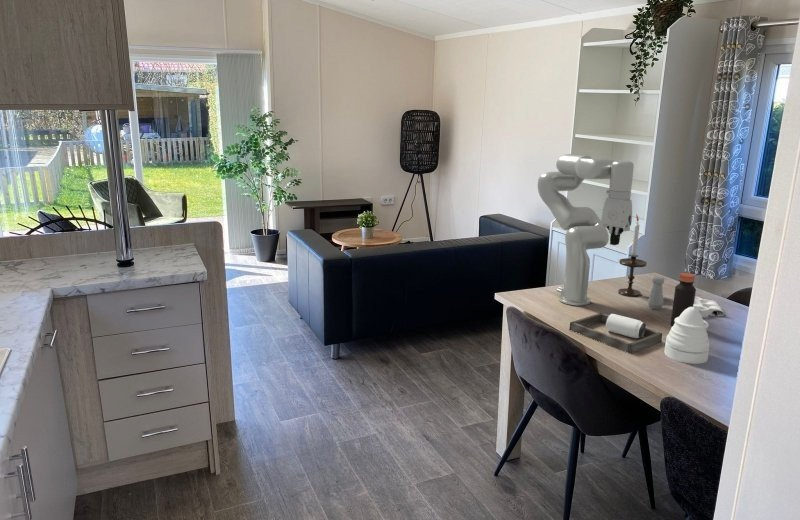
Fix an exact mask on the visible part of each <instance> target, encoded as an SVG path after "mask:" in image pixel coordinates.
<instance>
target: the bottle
mask: <svg viewBox="0 0 800 520" xmlns="http://www.w3.org/2000/svg"><path fill="white" fill-rule="evenodd" d="M695 277H696V275H695V274H694V273H690V272H689V273H688V272H681V273H680V274H679V283H678V284H676V285H675V287H674V294H673V302H672V310H671V316H670V322H669V323H670V327H672V326H673V325H674V324H675V321H674V320H675V318H677V317H679V316H680V315H681V313H682V312H683V311H684V310H685V309H687V308H689V307H693V304H694V300H695V296H696V291H697V289H696V287H695V286H694V283H695V280H696V279H695Z"/></svg>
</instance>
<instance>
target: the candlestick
mask: <svg viewBox="0 0 800 520" xmlns="http://www.w3.org/2000/svg"><path fill="white" fill-rule="evenodd" d="M635 217H636V223H635V224H634V228H633V229H634V230H633V236H632V237H633V239H632V245H631V246H632V247H631V254H628V256H629V258H628V257H627V258H620V259H619V261H618V263H619V264H620V265H622V266H623V267H625V266H626V267H629V268H630V269H629V270H630V271H629V275H627V278H628V279H627V280H628V281H627V284H628V285H627V288H620V289H618V294H619V295H621V296H624V297H631V298H637V297H641V293H642V292H641V291H640V290H637V289H634V288H633V284H634V283H635V282H634V280H635V275H634V271H635V268H644V267H646V266H647V261H645V260H643V259H640V258H639V259H638V258H637V257H639V255H637V249H638V242H639V233H640V224H639V219H640V218H639V216H638V214H637V213H636V215H635Z"/></svg>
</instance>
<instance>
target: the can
mask: <svg viewBox="0 0 800 520" xmlns="http://www.w3.org/2000/svg"><path fill="white" fill-rule="evenodd" d="M608 315H609V316H608V318H607V320H606V323H605V328H606V330H607V331H608V332H610V333H613V334H618V335H621V336H626V337H628V338H629V337H630V338H632V339H639V340H640V339H643V338H644V337H643V336H644V333H645V329H646V328H647V327H646V323H645V322H643V321H641V320H640V319H639V320H638V319H635V318H632V317H628V316H623V315H619V314H615V313H610V314H608Z"/></svg>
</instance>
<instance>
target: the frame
mask: <svg viewBox="0 0 800 520" xmlns="http://www.w3.org/2000/svg"><path fill="white" fill-rule="evenodd" d="M609 315H610V314H606V313H603V312H599V313H596V314H593V315H589V316H586V317H584V318H583V317H582V318H580V319H576V320H574V321H570V322H569V329H568V331H570V330H572V331H571V332H573V331H574V332H573V333H575V332H577V333H576V334H578V333H580V334H579V335H581V334H582V335H581V336H583V335H584V337H586V336H587V337H586V338H588V337H589V339H591V338H592V339H591V340H594V339H595V340H594V341H596V340H597V342H599V341H600V342H599V343H601V342H603V343H602V344H604V343H605V344H604V345H606V346H609V345H610V347H612V348H614V347H615V349H618V350H620V351H622V350H623V351H622V352H625V351H626V352H625V353H627V352H628V353H627V354H630V353H631V354H634V353H635V352H638V350H639V351H640V350H644V349H646V348H649V347H650V346H653V345H656V344H659V343H660V342H662V338H663V333H662V332H659V331H656V330H654V329H650V328H648V327H646V329H645V333H644V336H643V337H642V338H641V339H640V338H639V339H638V340H636V341H633V342H628V341H626V340H624V339H623V340H622V339H621V338H618V337H615V336H611V335H609V334H606V333H604V332H601V331H598V330H595V329H593V328H590V327H589V326H591V324H592V325H595V323H596V324H598V323H603V324H606V320H607V318H608V316H609ZM588 325H589V326H588ZM585 326H586V327H585Z"/></svg>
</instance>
